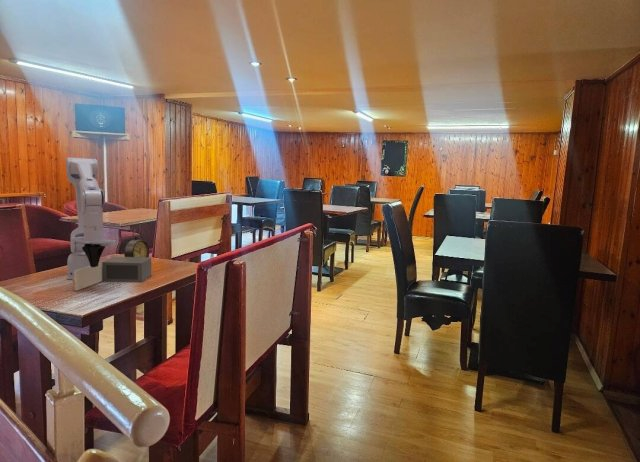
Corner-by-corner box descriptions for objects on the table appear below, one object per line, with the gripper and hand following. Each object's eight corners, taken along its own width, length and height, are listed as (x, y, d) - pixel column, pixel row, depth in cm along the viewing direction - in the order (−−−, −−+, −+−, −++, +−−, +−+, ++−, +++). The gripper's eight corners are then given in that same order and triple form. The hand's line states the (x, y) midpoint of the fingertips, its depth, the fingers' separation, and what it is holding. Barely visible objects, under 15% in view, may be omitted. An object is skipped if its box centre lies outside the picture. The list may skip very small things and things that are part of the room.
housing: (102, 281, 152) (101, 262, 151) (113, 274, 162) (113, 256, 161) (142, 282, 153) (141, 263, 152) (151, 275, 163) (151, 257, 162)
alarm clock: (134, 272, 168) (133, 231, 165) (121, 270, 169) (121, 230, 166) (150, 266, 178) (149, 228, 176) (138, 265, 179) (138, 227, 177)
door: (98, 280, 152) (98, 262, 151) (103, 280, 152) (103, 262, 151) (72, 290, 139) (71, 270, 138) (77, 290, 139) (76, 270, 138)
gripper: (64, 226, 136) (65, 267, 138) (106, 229, 135) (107, 270, 137) (78, 223, 143) (80, 263, 145) (119, 226, 142) (120, 266, 144)
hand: (94, 266), depth 141 cm, fingers closed
